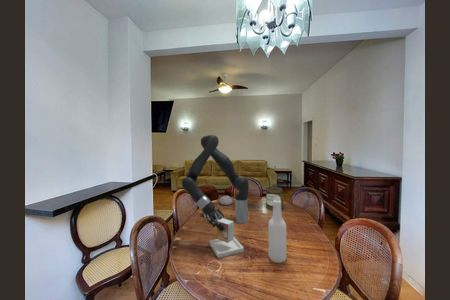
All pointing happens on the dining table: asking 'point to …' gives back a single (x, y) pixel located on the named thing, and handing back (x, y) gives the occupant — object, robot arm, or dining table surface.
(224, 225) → the small box
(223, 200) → the sea urchin shell
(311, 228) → the dining table surface
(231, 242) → the tray
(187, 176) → the robot arm
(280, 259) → the alcohol
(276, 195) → the clear glass jar
